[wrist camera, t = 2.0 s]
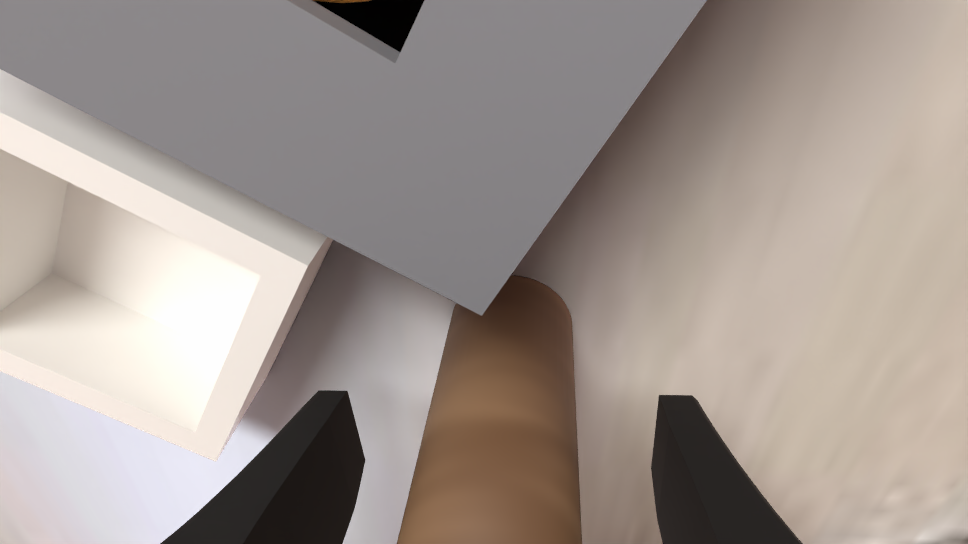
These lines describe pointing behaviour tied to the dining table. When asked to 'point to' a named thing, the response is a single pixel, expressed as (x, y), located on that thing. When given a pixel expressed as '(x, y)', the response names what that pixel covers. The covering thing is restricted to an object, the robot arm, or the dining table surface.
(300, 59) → the box
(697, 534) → the robot arm
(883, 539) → the dining table surface
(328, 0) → the button
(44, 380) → the box
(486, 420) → the brown wooden cylinder
